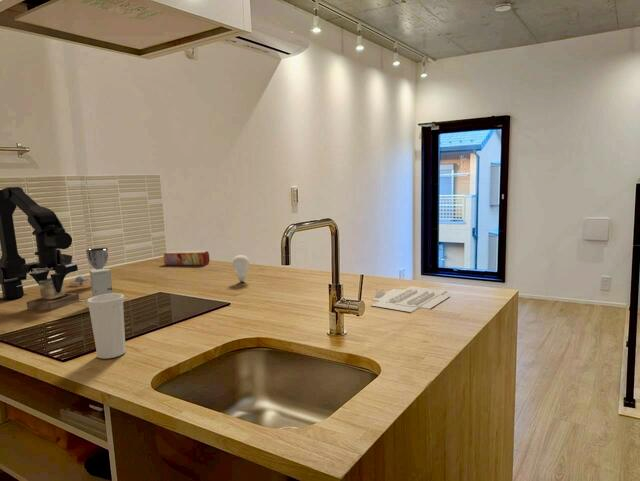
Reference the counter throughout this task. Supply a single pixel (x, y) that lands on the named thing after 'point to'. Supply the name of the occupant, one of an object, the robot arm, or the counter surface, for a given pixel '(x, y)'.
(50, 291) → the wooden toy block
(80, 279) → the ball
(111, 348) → the cup
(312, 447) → the counter surface
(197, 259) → the snack package
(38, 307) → the open box
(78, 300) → the card
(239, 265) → the light bulb
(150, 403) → the counter surface
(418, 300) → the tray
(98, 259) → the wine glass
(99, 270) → the skincare box
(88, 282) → the dish
